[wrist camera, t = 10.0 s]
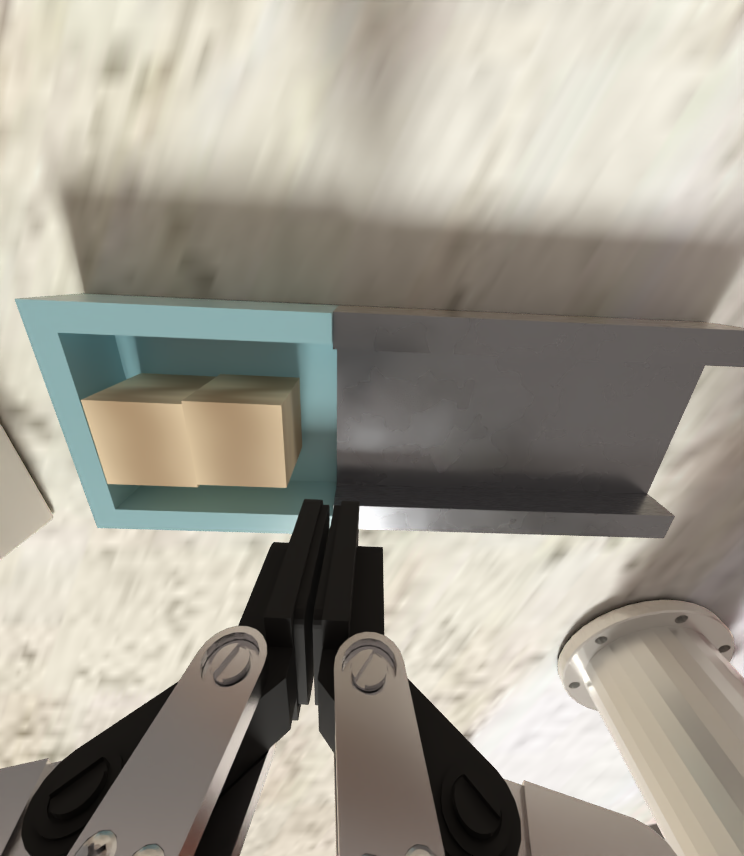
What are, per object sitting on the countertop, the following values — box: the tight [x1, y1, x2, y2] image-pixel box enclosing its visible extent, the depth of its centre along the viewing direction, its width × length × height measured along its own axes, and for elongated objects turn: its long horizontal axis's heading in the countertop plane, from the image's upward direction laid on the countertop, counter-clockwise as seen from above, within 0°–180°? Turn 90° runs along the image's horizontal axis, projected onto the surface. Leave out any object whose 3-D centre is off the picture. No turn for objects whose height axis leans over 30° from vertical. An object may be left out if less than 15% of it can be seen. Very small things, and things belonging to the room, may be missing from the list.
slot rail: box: [333, 305, 744, 538], centre depth 18 cm, size 18×11×3 cm, turn 87°
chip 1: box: [81, 373, 216, 487], centre depth 17 cm, size 4×4×4 cm
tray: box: [15, 293, 339, 534], centre depth 17 cm, size 12×11×4 cm
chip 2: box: [181, 374, 302, 488], centre depth 17 cm, size 4×4×4 cm
